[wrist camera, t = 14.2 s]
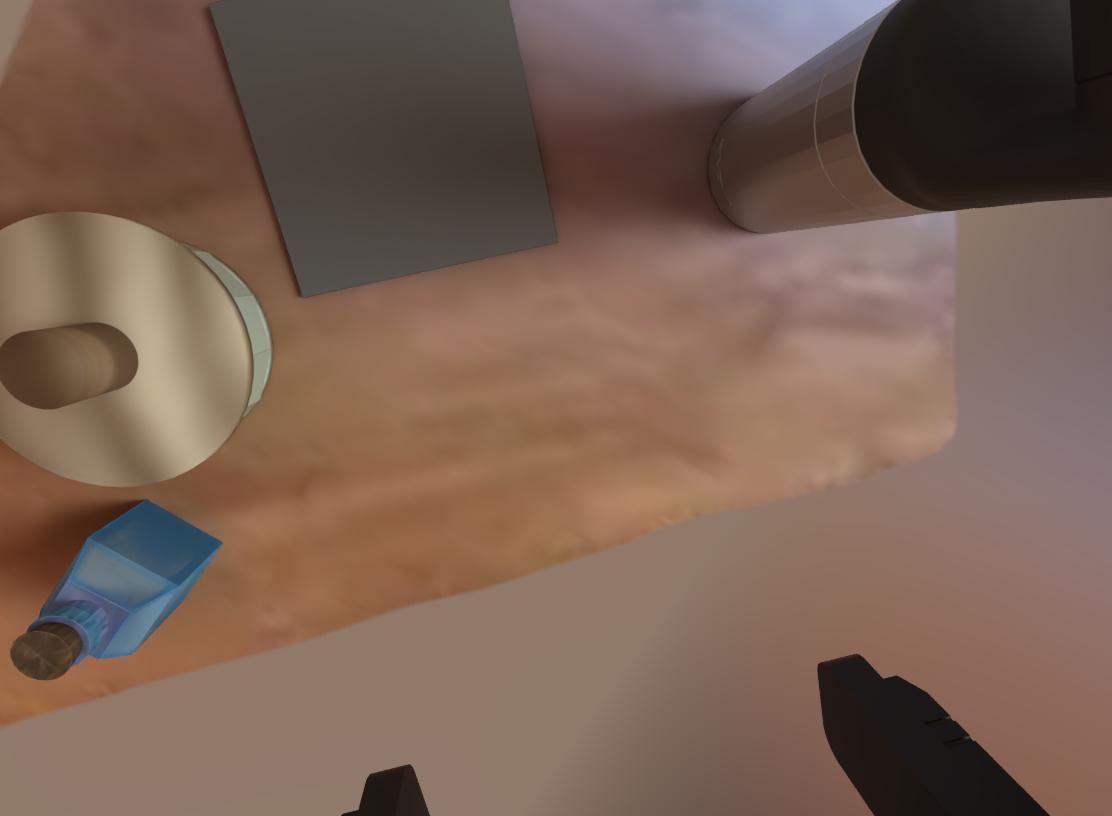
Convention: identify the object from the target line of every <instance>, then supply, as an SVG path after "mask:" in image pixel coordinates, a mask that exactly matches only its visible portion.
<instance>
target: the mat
mask: <svg viewBox="0 0 1112 816" xmlns="http://www.w3.org/2000/svg"><path fill="white" fill-rule="evenodd" d="M209 7H210V10H211V13H212V16H213V19H214V22H215V26H216V29H217V32H218V35H219V38H220V41H221V44H222V47H223V50H224V54H225V57H226V60H227V63H228V66H229V69H230V72H231V75H232V78H233V82H234V85H235V88H236V91H237V94H238V97H239V100H240V103H241V107H242V110H243V113H244V116H245V119H246V122H247V125H248V128H249V131H250V135H251V138H252V141H253V144H254V147H255V150H256V153H257V156H258V159H259V163H260V166H261V169H262V172H263V175H264V178H265V181H266V184H267V187H268V191H269V194H270V197H271V200H272V203H273V206H274V209H275V212H276V215H277V219H278V222H279V225H280V228H281V231H282V234H283V237H284V240H285V244H286V247H287V250H288V253H289V256H290V259H291V262H292V265H293V268H294V272H295V275H296V278H297V281H298V284H299V287H300V290H301V293H302V296H303V298H305V297H310V296H314V295H319V294H323V293H328V292H333V291H337V290H342V289H346V288H351V287H356V286H360V285H365V284H369V283H374V282H378V281H383V280H388V279H392V278H397V277H401V276H406V275H411V274H415V273H420V272H424V271H429V270H433V269H438V268H443V267H447V266H452V265H456V264H461V263H466V262H470V261H475V260H479V259H484V258H488V257H493V256H498V255H502V254H507V253H511V252H516V251H521V250H525V249H530V248H534V247H539V246H543V245H548V244H553V243H557V242H558V241H557V236H556V231H555V226H554V221H553V216H552V211H551V206H550V201H549V196H548V191H547V186H546V181H545V177H544V172H543V167H542V162H541V157H540V152H539V147H538V142H537V137H536V132H535V127H534V122H533V117H532V112H531V107H530V102H529V97H528V93H527V88H526V83H525V78H524V73H523V68H522V63H521V58H520V53H519V48H518V43H517V38H516V33H515V28H514V23H513V18H512V13H511V9H510V4H509V0H224V1H219V2H214V3H209Z"/></svg>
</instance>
